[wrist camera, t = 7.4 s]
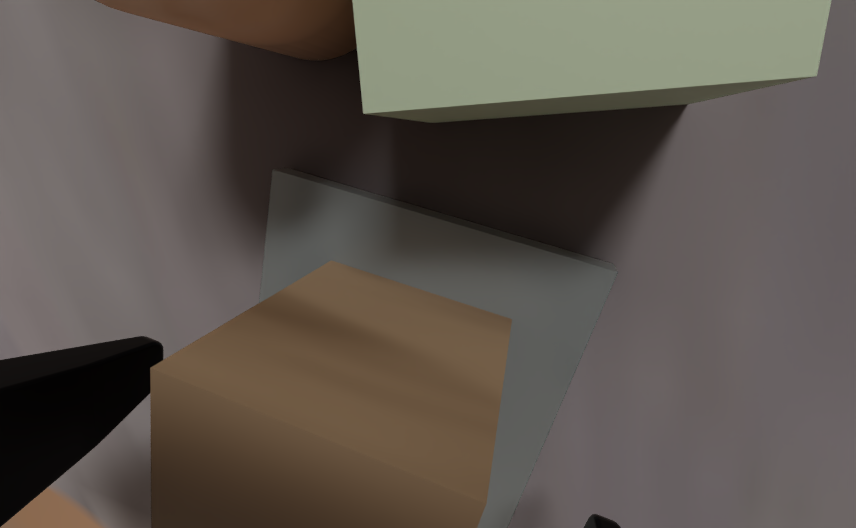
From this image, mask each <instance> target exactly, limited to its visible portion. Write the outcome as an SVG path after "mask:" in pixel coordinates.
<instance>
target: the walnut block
mask: <svg viewBox="0 0 856 528" xmlns="http://www.w3.org/2000/svg"><path fill="white" fill-rule="evenodd" d="M511 324H512V319H510V318H507V317H504V316H501V315H498V314H495V313H491V312H488V311H485V310H482V309H479V308H476V307H473V306H470V305H467V304H464V303H461V302H458V301H455V300H451V299H448V298H445V297H442V296H439V295H436V294H433V293H430V292H427V291H424V290H421V289H418V288H415V287H412V286H408V285H405V284H402V283H399V282H396V281H393V280H390V279H387V278H384V277H381V276H378V275H375V274H372V273H368V272H365V271H362V270H359V269H356V268H353V267H350V266H347V265H344V264H341V263H338V262H335V261H332V260H331V261H329V262H328V263H326V264H324V265H323V266H321V267H319V268H318V269H316V270H314V271H313V272H311V273H309V274H308V275H306V276H304V277H303V278H301V279H299V280H297V281H296V282H294V283H292V284H291V285H289V286H287V287H286V288H284V289H282V290H281V291H279V292H277V293H276V294H274V295H272V296H271V297H269V298H267V299H265V300H264V301H262V302H260V303H259V304H257V305H255V306H254V307H252V308H250V309H249V310H247V311H245V312H244V313H242V314H240V315H239V316H237V317H235V318H233V319H232V320H230V321H228V322H227V323H225V324H223V325H222V326H220V327H218V328H217V329H215V330H213V331H212V332H210V333H208V334H207V335H205V336H203V337H201V338H200V339H198V340H196V341H195V342H193V343H191V344H190V345H188V346H186V347H185V348H183V349H181V350H180V351H178V352H176V353H175V354H173V355H171V356H169V357H168V358H166V359H164V360H163V361H161V362H159V363H158V364H156V365H154V366H153V367H151V368H150V387H151V528H477V527H478V524H479V522H480V519H481V517H482V514H483V511H484V509H485V506H486V504H487V496H488V489H489V482H490V475H491V468H492V460H493V453H494V446H495V439H496V432H497V424H498V417H499V410H500V403H501V396H502V389H503V381H504V374H505V367H506V360H507V353H508V345H509V338H510V331H511Z"/></svg>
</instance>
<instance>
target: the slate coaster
mask: <svg viewBox="0 0 856 528" xmlns="http://www.w3.org/2000/svg"><path fill="white" fill-rule="evenodd" d="M331 260H332V261H335V262H338V263H341V264H344V265H347V266H350V267H353V268H356V269H359V270H362V271H365V272H368V273H372V274H375V275H378V276H381V277H384V278H387V279H390V280H393V281H396V282H399V283H402V284H405V285H408V286H412V287H415V288H418V289H421V290H424V291H427V292H430V293H433V294H436V295H439V296H442V297H445V298H448V299H451V300H455V301H458V302H461V303H464V304H467V305H470V306H473V307H476V308H479V309H482V310H485V311H488V312H491V313H495V314H498V315H501V316H504V317H507V318H510V319H512V324H511V331H510V338H509V345H508V353H507V360H506V367H505V374H504V381H503V389H502V396H501V403H500V410H499V417H498V424H497V432H496V439H495V446H494V453H493V460H492V468H491V475H490V482H489V489H488V496H487V504H486V506H485V509H484V511H483V514H482V517H481V519H480V522H479V524H478V527H477V528H508V526H509V523H510V521H511V519H512V516H513V514H514V512H515V509H516V507H517V505H518V503H519V500H520V498H521V496H522V493H523V491H524V489H525V486H526V484H527V482H528V479H529V477H530V475H531V472H532V470H533V468H534V466H535V463H536V461H537V459H538V456H539V454H540V452H541V449H542V447H543V445H544V442H545V440H546V438H547V435H548V433H549V431H550V429H551V426H552V424H553V422H554V419H555V417H556V415H557V412H558V410H559V408H560V405H561V403H562V401H563V398H564V396H565V394H566V392H567V389H568V387H569V385H570V382H571V380H572V378H573V375H574V373H575V371H576V368H577V366H578V364H579V361H580V359H581V357H582V355H583V352H584V350H585V348H586V345H587V343H588V341H589V338H590V336H591V334H592V331H593V329H594V327H595V324H596V322H597V320H598V317H599V315H600V313H601V311H602V308H603V306H604V304H605V301H606V299H607V297H608V294H609V292H610V290H611V287H612V285H613V283H614V280H615V278H616V276H617V274H618V271H617V270H616V268H615V266H614V265H613V264H612V263H609V262H605V261H602V260H598V259H595V258H592V257H588V256H585V255H581V254H578V253H575V252H571V251H568V250H565V249H561V248H558V247H554V246H551V245H548V244H544V243H541V242H537V241H534V240H531V239H527V238H524V237H520V236H517V235H514V234H510V233H507V232H503V231H500V230H497V229H493V228H490V227H486V226H483V225H480V224H476V223H473V222H470V221H466V220H463V219H459V218H456V217H453V216H449V215H446V214H442V213H439V212H436V211H432V210H429V209H425V208H422V207H419V206H415V205H412V204H408V203H405V202H402V201H398V200H395V199H392V198H388V197H385V196H381V195H378V194H375V193H371V192H368V191H364V190H361V189H358V188H354V187H351V186H347V185H344V184H341V183H337V182H334V181H330V180H327V179H324V178H320V177H317V176H313V175H310V174H307V173H303V172H300V171H297V170H293V169H290V168H280V169H273V170H272V179H271V189H270V199H269V209H268V219H267V229H266V239H265V249H264V259H263V268H262V278H261V288H260V298H259V303H260V302H262V301H264V300H265V299H267V298H269V297H271V296H272V295H274V294H276V293H277V292H279V291H281V290H282V289H284V288H286V287H287V286H289V285H291V284H292V283H294V282H296V281H297V280H299V279H301V278H303V277H304V276H306V275H308V274H309V273H311V272H313V271H314V270H316V269H318V268H319V267H321V266H323V265H324V264H326V263H328V262H329V261H331Z"/></svg>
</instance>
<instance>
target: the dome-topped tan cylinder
mask: <svg viewBox="0 0 856 528" xmlns="http://www.w3.org/2000/svg"><path fill="white" fill-rule="evenodd" d="M95 1H97V2H100V3H102V4H104V5H106V6H108V7H111V8H114V9H117V10H120V11H124V12H127V13H130V14H134V15H138V16H142V17H145V18H149V19H153V20H157V21H160V22H164V23H168V24H172V25H175V26H179V27H183V28H187V29H190V30H194V31H198V32H202V33H205V34H209V35H213V36H216V37H220V38H224V39H228V40H231V41H235V42H239V43H243V44H246V45H250V46H254V47H258V48H261V49H265V50H269V51H273V52H276V53H280V54H284V55H287V56H291V57H295V58H299V59H304V60H311V61H317V60H328V59H333V58H336V57H339V56H342V55H345V54H347V53H349V52H351V51H352V50H354V49H356V48H357V43H356V33H355V23H354V12H353V2H352V0H95Z"/></svg>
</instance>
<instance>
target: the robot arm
mask: <svg viewBox="0 0 856 528" xmlns="http://www.w3.org/2000/svg"><path fill="white" fill-rule="evenodd" d="M161 361H163V346H162V344H161V343H160V342H158V341H156V340H153V339H151V338H148V337H144V336H139V337H133V338H127V339H121V340H116V341H110V342H104V343H98V344H92V345H86V346H80V347H74V348H69V349H63V350H57V351H51V352H45V353H39V354H33V355H27V356H22V357H16V358H10V359H4V360H0V527H1V526H2V525H3V524H5V523H6V522H7V521H8V520H9V519H11V518H12V517H13V516H14V515H15V514H16V513H18V512H19V511H20V510H21V509H22V508H24V507H25V506H26V505H27V504H28V503H29V502H30V501H32V500H33V499H34V498H35V497H37V496H38V495H39V494H40V493H41V492H43V491H44V490H45V489H46V488H47V487H48V486H50V485H51V484H52V483H53V482H54V481H56V480H57V479H58V478H59V477H60V476H61V475H63V474H64V473H65V472H66V471H67V470H69V469H70V468H71V467H72V466H73V465H75V464H76V463H77V462H78V461H79V460H80V459H82V458H83V457H84V456H85V455H86V454H87V453H89V452H90V451H91V450H92V449H93V448H94V447H95V446H97V445H98V444H99V443H100V442H101V441H102V440H103V439H104V438H105V437H106V436H107V435H108V434H109V433H110V432H111V431H112V430H113V429H114V428H115V427H116V426H117V425H118V424H119V423H120V422H121V421H122V420H123V419H124V418H125V417H126V416H127V415H128V414H129V413H130V412H131V411H132V410H133V409H134V408H135V407H136V406H137V405H138V404H139V403H140V402H141V401H142V400H143V399H144V398H146V397H147V396H148V395H149V394H150V393H151V387H150V368H151V367H153V366H154V365H156V364H158V363H159V362H161ZM584 528H621V527H620V526H619V525H618V524H617V523H616V522H615V521H612V520H610V519H607V518H605V517H602V516H600V515H597V514H593V515H591V516H590V517H589V519H588V521H587V522H586V524H585V526H584Z"/></svg>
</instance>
